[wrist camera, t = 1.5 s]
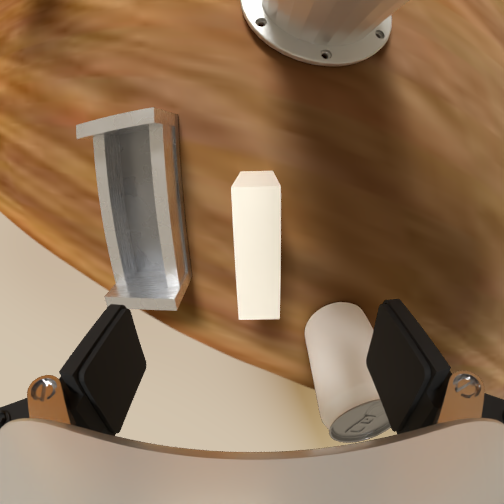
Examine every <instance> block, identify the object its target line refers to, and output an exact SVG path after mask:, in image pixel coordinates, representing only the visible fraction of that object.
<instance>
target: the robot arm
mask: <svg viewBox="0 0 504 504" xmlns="http://www.w3.org/2000/svg"><path fill="white" fill-rule="evenodd" d="M408 1H409V0H240V2H241V8H242V11H243V15H244V18H245V19H246V21H247V23H248V25H249V26H250V28H251V29H252V30H253V31H254V33H255V34H256V35H257V36H258V37H259V38H260V39H261V40H262V41H264V42H265V43H266V44H267V45H269V46H270V47H271V48H273V49H275V50H277V51H278V52H280V53H282V54H283V55H286V56H288V57H291V58H293V59H295V60H298V61H302V62H305V63H309V64H313V65H321V66H345V65H350V64H356V63H358V62H360V61H363V60H365V59H367V58H369V57H370V56H372V55H374V54H375V53H376V52H377V51H379V50H380V49H381V48H382V47H383V46H384V45H385V43H386V42H387V40H388V38H389V35H390V32H391V29H392V16H391V14H393V13H394V12H395V11H396V10H398V9H399V8H400V7H401V6H403V5H404V4H405V3H406V2H408ZM260 24H263V25H264V26H263V27H260V26H258V25H260ZM321 55H325V56H326V57H327V59H324V58H323V57H322V56H321ZM366 365H367V368H368V370H369V373H370V375H371V378H372V380H373V382H374V385H375V387H376V390H377V392H378V395H379V397H380V400H381V402H382V405H383V407H384V410H385V413H386V415H387V418H388V421H389V423H390V426H391V428H392V430H393V431H394V432H395V431H396V432H397V435H393V436H389V437H385V438H380V439H375V440H370V441H365V442H360V443H355V444H348V445H342V446H335V447H328V448H321V449H320V448H319V449H310V450H298V451H284V452H283V451H282V452H223V451H222V452H221V451H207V450H195V449H186V448H177V447H169V446H163V445H157V444H151V443H145V442H140V441H135V440H130V439H126V438H121V437H117V436H115V434H116V433H119V432H120V430H121V427H122V425H123V422H124V420H125V417H126V415H127V412H128V410H129V407H130V405H131V403H132V400H133V398H134V395H135V393H136V391H137V388H138V386H139V384H140V381H141V379H142V377H143V374H144V372H145V369H146V360H145V357H144V354H143V351H142V348H141V345H140V342H139V339H138V335H137V332H136V329H135V325H134V322H133V319H132V315H131V312H130V310H129V309H127V308H126V306H125V305H118V304H110V305H109V306H108V307H107V309H106V310H105V311H104V312H103V314H102V315H101V316H100V318H99V319H98V320H97V321H96V323H95V324H94V326H93V327H92V328H91V329H90V330H89V332H88V333H87V334H86V336H85V337H84V338H83V340H82V341H81V342H80V344H79V345H78V346H77V348H76V349H75V351H74V352H73V353H72V355H71V356H70V357H69V359H68V360H67V362H66V363H65V365H64V366H63V367H62V369H61V370H60V371H59V372H60V374H61V377H60V379H58V378H57V377H55V376H52V375H45V376H41V377H39V378H37V379H36V380H34V381H33V382H32V383H31V385H30V386H29V388H28V392H27V398H25V399H23V400H20V401H17V402H15V403H12V404H9V405H6V406H4V407H0V504H504V400H503V399H500V398H497V397H494V396H491V395H488V394H485V393H484V392H485V388H484V384H483V382H482V380H481V379H480V378H479V377H478V376H477V375H476V374H474V373H472V372H469V371H458V372H455V373H454V374H453V375H452V373H451V372H450V368H451V367H450V366H449V365H448V363H447V362H446V360H445V359H444V357H443V356H442V354H441V353H440V352H439V350H438V349H437V347H436V346H435V345H434V343H433V342H432V341H431V339H430V338H429V336H428V335H427V334H426V332H425V331H424V330H423V328H422V327H421V326H420V324H419V323H418V322H417V320H416V319H415V318H414V317H413V315H412V314H411V313H410V311H409V310H408V309H407V308H406V306H405V305H404V304H403V303H402V301H401V300H400V299H391V300H385V301H384V302H383V304H381V305H380V306H379V309H378V313H377V318H376V322H375V327H374V331H373V335H372V339H371V343H370V346H369V350H368V354H367V358H366Z"/></svg>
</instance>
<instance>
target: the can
mask: <svg viewBox="0 0 504 504" xmlns="http://www.w3.org/2000/svg"><path fill="white" fill-rule="evenodd" d="M373 331H374V330H373V328H372V326H371V324H370V322H369V321H368V319H367V317H366V315H365V314H364V312H363V311H362V309H361V308H360V307H359V306H357V305H355V304H352V303H347V302H337V303H332V304H329V305H326V306H324V307H322V308H321V309H319V310H318V311H316V312H315V313H314V314H313V315H312V316H311V318H310V319H309V320H308V322H307V324H306V327H305V340H306V345H307V350H308V356H309V361H310V366H311V371H312V376H313V381H314V386H315V391H316V397H317V401H318V407H319V412H320V416H321V420H322V422H323V423H324V425H325V426H326V427H327V428H328V429H329V434H330V436H331V438H332V439H334V440H336V441H339V442H346V443H347V442H359V441H363V440H367V439H370V438H372V437H375V436H377V435H379V434H381V433H383V432H385V431H386V430H388V429H389V428H391V426H390V423H389V421H388V418H387V415H386V413H385V410H384V407H383V405H382V402H381V400H380V397H379V395H378V392H377V390H376V387H375V385H374V382H373V380H372V378H371V375H370V373H369V370H368V368H367V365H366V358H367V354H368V350H369V346H370V343H371V339H372V335H373Z"/></svg>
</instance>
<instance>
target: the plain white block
mask: <svg viewBox="0 0 504 504" xmlns="http://www.w3.org/2000/svg"><path fill="white" fill-rule="evenodd" d="M231 195H232V215H233V234H234V251H235V268H236V284H237V299H238V314H239V320H260V319H280V280H281V186H280V184H279V182H278V180H277V178H276V176H275V174H274V172H273V171H244V172H240V174H239V175H238V177H237V178H236V180H235V182H234V183H233V185H232V187H231Z"/></svg>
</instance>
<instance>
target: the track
mask: <svg viewBox="0 0 504 504" xmlns="http://www.w3.org/2000/svg"><path fill="white" fill-rule="evenodd" d="M76 134H77V139H85V138H93V143H94V157H95V168H96V177H97V185H98V193H99V200H100V207H101V214H102V220H103V225H104V231H105V236H106V241H107V246H108V251H109V256H110V260H111V265H112V269H113V273H114V277H115V281H116V284H115V285H114V286H113V287H112V288H111V290H110V291H109V292H108V293H107V294H106V295H105V300H106V303H107V306H109V305H110V304H118V305H125V306H126V308H127V309H146V310H172V311H177V309H178V307H179V305H180V303H181V300H182V298H183V296H184V294H185V291H186V289H187V287H188V285H189V283H190V280H191V278H192V272H191V264H190V256H189V248H188V239H187V230H186V220H185V210H184V200H183V188H182V175H181V161H180V145H179V124H178V114H175V113H172V112H168V111H165V110H162V109H158V108H155V107H152V108H147V109H141V110H136V111H131V112H126V113H122V114H117V115H113V116H109V117H105V118H101V119H97V120H93V121H89V122H86V123H82V124H79V125H76Z"/></svg>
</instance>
